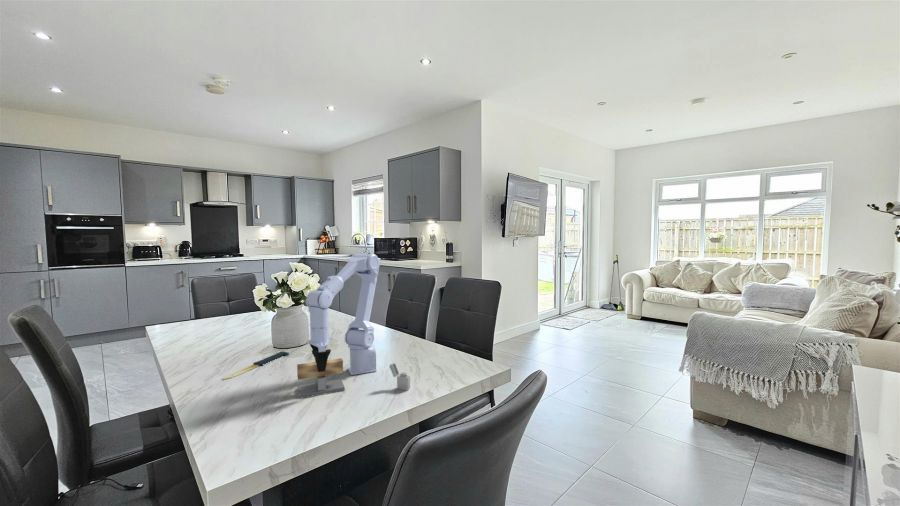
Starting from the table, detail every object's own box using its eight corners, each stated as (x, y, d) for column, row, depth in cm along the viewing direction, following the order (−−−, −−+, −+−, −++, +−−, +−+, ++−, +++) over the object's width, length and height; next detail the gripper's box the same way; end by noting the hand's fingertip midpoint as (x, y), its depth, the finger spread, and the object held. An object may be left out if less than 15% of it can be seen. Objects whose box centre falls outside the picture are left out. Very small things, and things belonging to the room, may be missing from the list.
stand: (341, 381, 128) (340, 367, 128) (344, 390, 121) (344, 375, 121) (297, 388, 123) (297, 374, 122) (298, 398, 115) (298, 382, 115)
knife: (288, 352, 158) (227, 377, 130) (289, 355, 158) (228, 382, 130) (280, 351, 160) (218, 376, 131) (281, 355, 160) (218, 380, 131)
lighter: (410, 388, 122) (410, 364, 122) (407, 390, 120) (407, 366, 120) (392, 385, 125) (391, 362, 124) (389, 387, 123) (389, 363, 123)
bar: (341, 369, 126) (341, 358, 126) (343, 372, 123) (342, 361, 123) (297, 376, 120) (297, 364, 120) (297, 379, 117) (297, 367, 117)
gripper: (305, 323, 126) (306, 362, 126) (307, 333, 113) (309, 377, 113) (326, 321, 129) (327, 359, 129) (331, 330, 116) (332, 373, 116)
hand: (320, 367), depth 121 cm, fingers open, 7 cm apart
